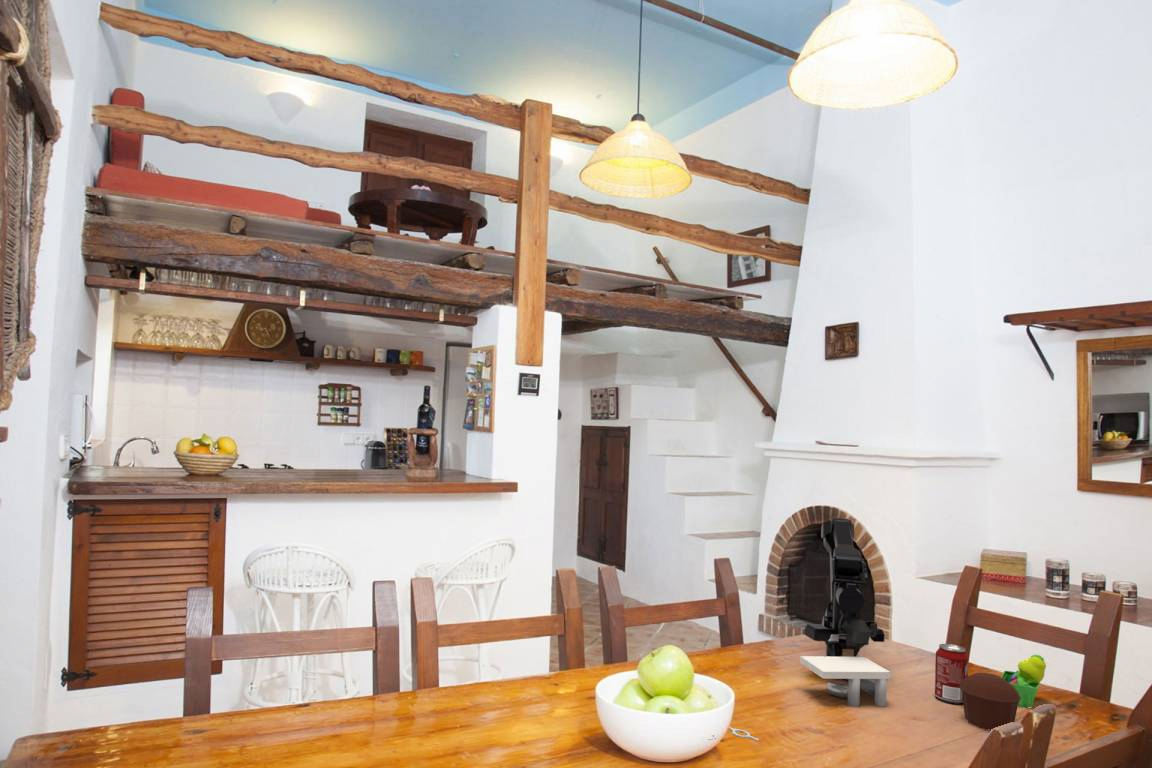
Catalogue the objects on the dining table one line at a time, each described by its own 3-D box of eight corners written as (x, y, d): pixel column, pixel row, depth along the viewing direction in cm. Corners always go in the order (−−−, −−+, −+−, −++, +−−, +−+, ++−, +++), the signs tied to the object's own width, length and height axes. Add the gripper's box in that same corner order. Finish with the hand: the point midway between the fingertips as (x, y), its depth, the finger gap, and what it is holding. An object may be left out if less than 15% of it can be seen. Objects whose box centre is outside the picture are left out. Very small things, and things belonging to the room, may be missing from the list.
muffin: (1028, 727, 162) (1029, 679, 162) (1008, 739, 155) (1010, 688, 155) (969, 709, 171) (971, 663, 171) (948, 719, 163) (950, 672, 164)
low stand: (799, 688, 178) (800, 656, 178) (862, 689, 180) (863, 656, 181) (822, 706, 167) (823, 671, 167) (889, 706, 169) (890, 672, 170)
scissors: (708, 742, 143) (669, 702, 163) (707, 746, 143) (669, 706, 163) (759, 739, 146) (715, 700, 165) (759, 743, 146) (714, 704, 165)
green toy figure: (1003, 690, 186) (1004, 643, 186) (1046, 700, 181) (1047, 651, 181) (998, 703, 176) (1000, 653, 177) (1043, 713, 171) (1044, 662, 172)
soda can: (963, 707, 172) (965, 653, 172) (931, 699, 176) (933, 646, 176) (969, 700, 177) (971, 647, 178) (937, 692, 181) (939, 641, 182)
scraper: (833, 673, 190) (834, 644, 190) (844, 673, 190) (845, 644, 191) (871, 697, 173) (872, 666, 173) (883, 697, 174) (884, 666, 174)
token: (827, 694, 174) (828, 685, 174) (826, 689, 179) (827, 680, 179) (850, 698, 172) (851, 689, 173) (849, 693, 177) (849, 684, 177)
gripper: (827, 611, 179) (824, 679, 179) (899, 612, 183) (896, 679, 182) (804, 600, 190) (802, 664, 190) (873, 601, 194) (870, 664, 193)
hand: (843, 668), depth 188 cm, fingers closed on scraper, 3 cm apart
